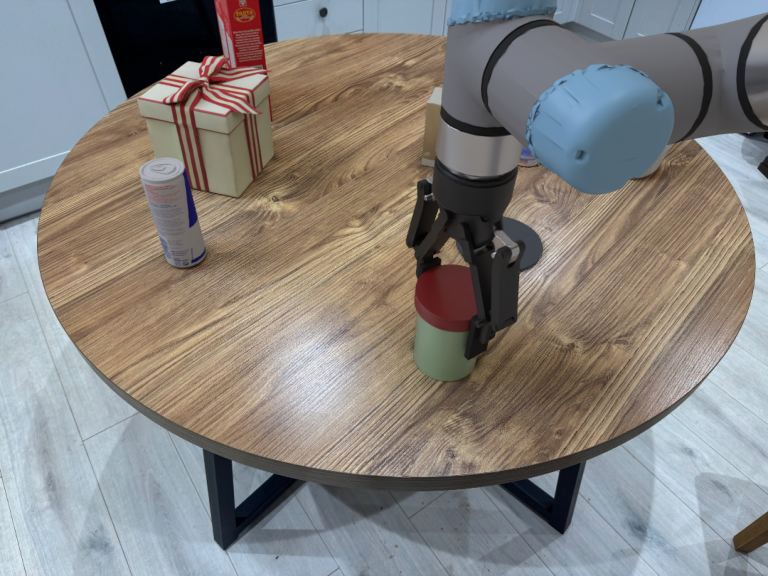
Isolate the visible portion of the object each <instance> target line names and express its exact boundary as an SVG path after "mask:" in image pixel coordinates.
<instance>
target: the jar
mask: <svg viewBox="0 0 768 576" xmlns="http://www.w3.org/2000/svg"><path fill="white" fill-rule="evenodd" d="M416 312H417V311H416ZM415 321H416V323H415V332H414V342H413V351H412V354H413V360H414V363H415V366H416V367H417V368H418V369H419V370H420V372H421V373H423V374H424V375H425V376H427V377H428V378H431V379H433V380H436V381H439V382H454V381H459V380H462V379H464V378H466V377H467V376H468V375H470V374H471V373H472V372H473V370H474V368H475V367H476V364H477V359H478V356H476V357H474V358H472V359H470V360H467V359H466V358H465V357H464V353H465V348H466V343H467V338H468V333H469V331H467V332H448V331H444V330H441V329H438V328H435V327H433V326H431V325H430V324H428V323H427V322H426V321H424V320H423V319H422V318H421V317H420V315H419V314H418V312H417V313H416V320H415Z"/></svg>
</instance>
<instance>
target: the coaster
mask: <svg viewBox="0 0 768 576" xmlns="http://www.w3.org/2000/svg"><path fill="white" fill-rule="evenodd" d="M503 225H504V231H503V232H504V233H505V234H506V235H507V236H508V237H509V238H510V239H511V240H512V241H513V242H514V241H516V240H519V239H520V240H522V241H523V242H524V243H525V245H526V249H525V252H524V254H523V257H522V259H521V261H520V273H521V272H524V271H527V270H529V269H531V268H533V267H534V266H535V265H536V264H537V263H539V261H540V260H541V257H542V254H543V250H544V245H543V241H542V239H541V237H540V236H539V234H538V233H537V232H536V231H535V230H534V229H533V228H532V227H531V226H530V225H528V224H527V223H524V222H522V221H520V220H518V219H515V218H512V217H508V216H504V215H503ZM455 245H456V246H455V247H456V249H457V251H458V252H459V254H460V255H461V257H463V252H462V247H461V246H460V245H459V243H458V242H457V241H456V240H455ZM485 246H486V245H485ZM485 246H483V247H481V248H479V249H476V250H474V252H476V251H478V250H480V249H483V248H484V247H485Z"/></svg>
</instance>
